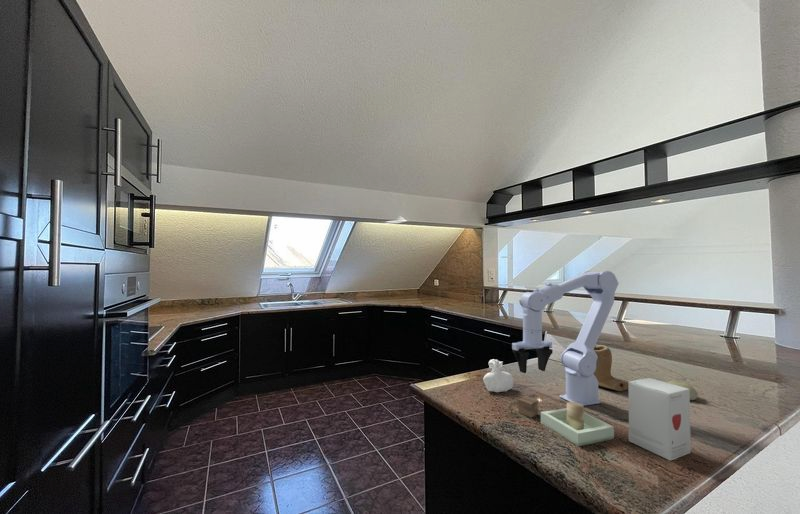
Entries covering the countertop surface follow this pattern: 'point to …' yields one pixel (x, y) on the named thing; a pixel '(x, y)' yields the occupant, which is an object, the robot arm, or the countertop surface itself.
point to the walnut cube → (528, 406)
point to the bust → (497, 377)
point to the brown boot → (607, 370)
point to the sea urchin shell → (692, 391)
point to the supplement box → (659, 417)
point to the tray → (590, 434)
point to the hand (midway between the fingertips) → (532, 371)
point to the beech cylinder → (575, 415)
